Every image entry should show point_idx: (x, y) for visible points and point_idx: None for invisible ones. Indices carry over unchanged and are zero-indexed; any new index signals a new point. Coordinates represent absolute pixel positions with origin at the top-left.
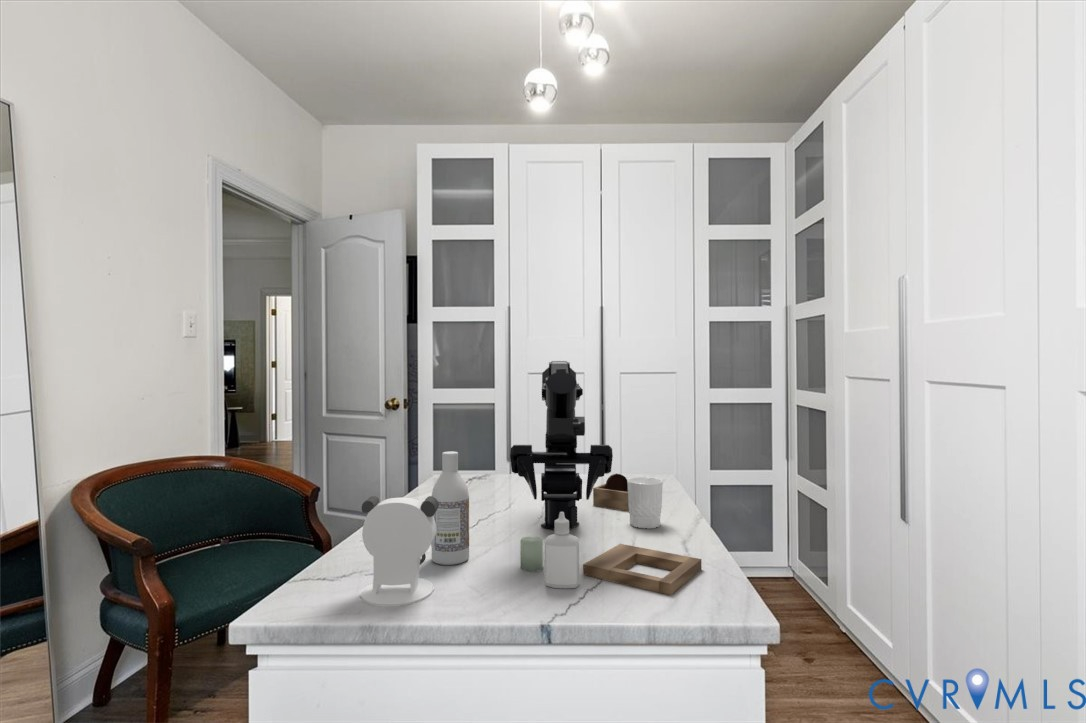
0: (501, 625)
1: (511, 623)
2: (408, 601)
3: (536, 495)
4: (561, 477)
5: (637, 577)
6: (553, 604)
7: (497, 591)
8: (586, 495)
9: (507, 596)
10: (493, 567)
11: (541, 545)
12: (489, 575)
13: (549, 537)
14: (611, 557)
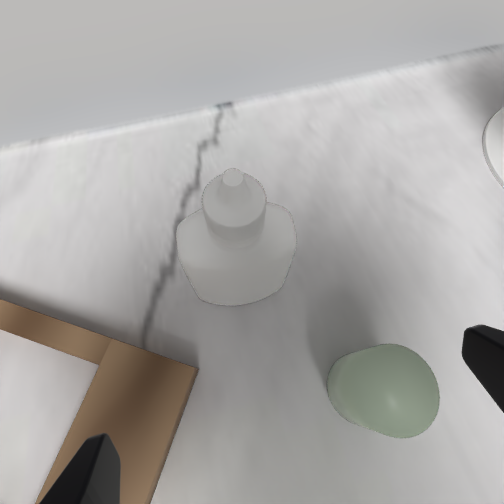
0: (294, 88)
1: (281, 97)
2: (497, 117)
3: (471, 333)
4: None
5: (31, 310)
6: None
7: (368, 209)
8: (106, 450)
9: (336, 191)
10: None
11: (347, 380)
12: (439, 294)
13: (277, 209)
14: None
